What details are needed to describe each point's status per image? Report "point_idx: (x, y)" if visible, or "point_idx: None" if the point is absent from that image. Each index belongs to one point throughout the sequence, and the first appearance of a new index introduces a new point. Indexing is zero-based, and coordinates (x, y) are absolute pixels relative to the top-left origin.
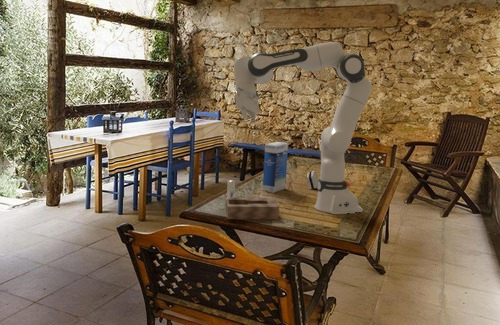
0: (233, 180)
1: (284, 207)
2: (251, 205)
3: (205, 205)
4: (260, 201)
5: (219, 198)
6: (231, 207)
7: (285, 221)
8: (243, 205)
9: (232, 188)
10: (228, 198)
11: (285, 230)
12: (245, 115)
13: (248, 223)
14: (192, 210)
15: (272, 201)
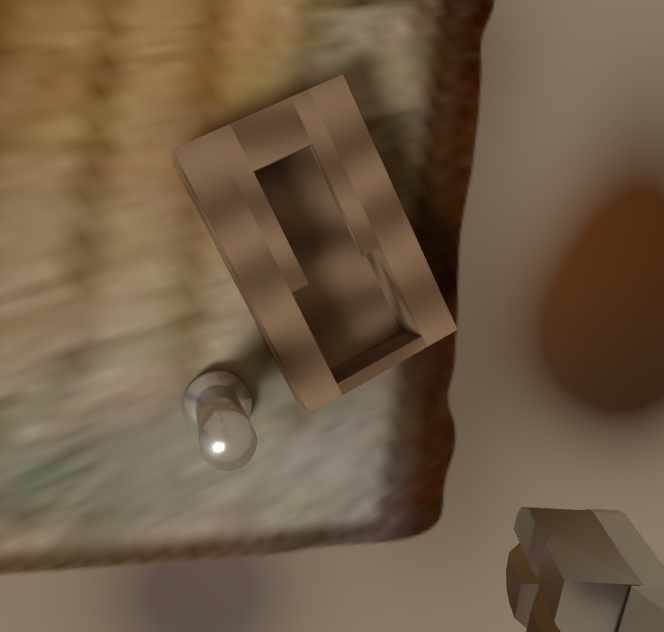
0: (204, 438)
1: (86, 105)
2: (389, 224)
3: (274, 520)
4: (269, 207)
5: (98, 528)
6: (447, 312)
7: (341, 54)
8: (407, 263)
9: (244, 412)
10: (317, 391)
11: (460, 33)
12: (661, 591)
13: (442, 215)
14: (381, 527)
15: (254, 134)
